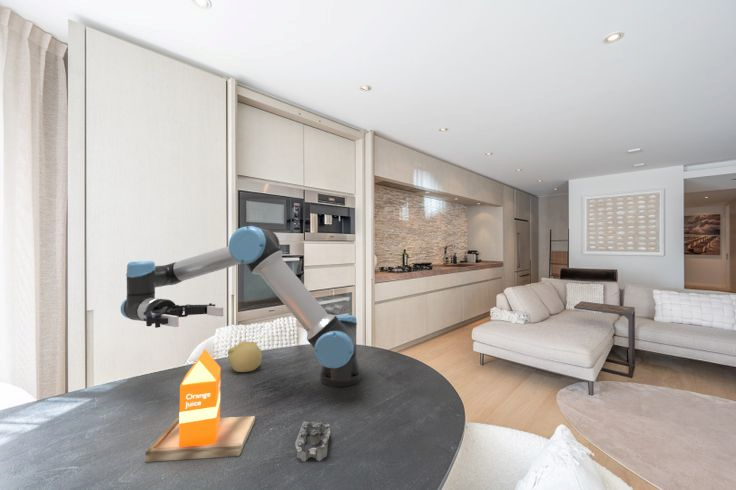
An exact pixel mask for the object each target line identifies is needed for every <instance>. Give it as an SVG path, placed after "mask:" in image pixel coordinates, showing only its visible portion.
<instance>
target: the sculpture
mask: <svg viewBox="0 0 736 490" xmlns="http://www.w3.org/2000/svg"><path fill="white" fill-rule="evenodd" d="M262 353H263V352H262V350H261V349H260V346H259V345H257V342H256V341H240V342H238V344H236V345H233V346H232V347H230V348H228V350H227V360H228V362H229V364H230V367H231V368H232V370H233V371H234V372H240V373H248V372H252V371H255V370H256V369H257V368H259V366H260V365H261V363H262V359H263V358H262V357H263V354H262Z"/></svg>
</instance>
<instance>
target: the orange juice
mask: <svg viewBox="0 0 736 490" xmlns="http://www.w3.org/2000/svg"><path fill="white" fill-rule="evenodd" d="M221 369H222V367H221V366H220V365H219V364H218V363H217V362H216V360H215V359H214V358H213V357H212V356H211V355H210V353H209V352H208V351H207V350H206V349H205V348H204V349H203V351H202V352H201V354H200V355H199V357H198V358H197V359H196V361H195V362H194V364H192V366H191V367H190V369H189V370H188V371H187V372H186V375H185V376H184V378H183V380H182V382H181V384H180V386H179V413H178V414H179V416H178V417H179V447H183V446H199V445H208V444H213V443H216V439H217V434H218V429H219V424H220V418H221V416H220V415H221V383H222V382H221Z"/></svg>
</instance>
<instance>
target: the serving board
mask: <svg viewBox="0 0 736 490" xmlns="http://www.w3.org/2000/svg"><path fill="white" fill-rule="evenodd" d="M255 422H256V415H250V416H249V415H248V416H246V415H245V416H233V417H231V416H229V417H220V424H219V429H218V434H217V439H216V443H213V444H208V445H199V446H183V447H179V416H178V417H176V418H175V419H174V420H173V422H172V423H171V424H170V425H169V426H168V427H167V428H166V429H165V430H164V431H163V433H161V435H159V437H158V438H157V439H156V440H155V441H154V442H153V443H152V444H151V445H150V447H148V448H147V450H146V451H145V463H149V462H150V463H151V462H153V463H154V462H167V461H181V460H182V461H183V460H193V459H194V460H196V459H209V458H213V459H214V458H224V457H228V458H229V457H238V456H239V457H240V455H241V453H242V451H243V448H244V447H245V444H246V443H247V439H248V437H249V435H250V433H251V432H252V428H253V427H254V425H255Z"/></svg>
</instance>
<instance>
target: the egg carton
mask: <svg viewBox="0 0 736 490" xmlns="http://www.w3.org/2000/svg"><path fill="white" fill-rule="evenodd" d="M322 434H323V439H322V445H321V446H318V447H311V448H308V449H307V450H306V451H305V444H306V443H307V436H308V435H309V443H310V445H311V446H316V445H318V444H319V443H320V442H321V441H320V436H321V435H322ZM330 436H331V429H330V423H329V422H327V423H326V424H324V423H323V422H322V421H321V422H318V421H316V422H314V421H311V422H310V421H309V422H308V421H305V420H303V421H302V424H301V427H300V428H299V431H298V435H297V437H296V440H295V443H294V445H295V449H296V451H297V452H296V458H297V459H300V460H301V462H307V461H308V460H309V459H311V458H310V457H313V458H314V459H316V460H315V461H317V460H318V461H317V462H319V461H320V460H321V461H322V460H323V459H324V458H326V457H327V455H328V448H329V439H330ZM308 458H309V459H308ZM306 460H307V461H306ZM321 461H320V462H321Z"/></svg>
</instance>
